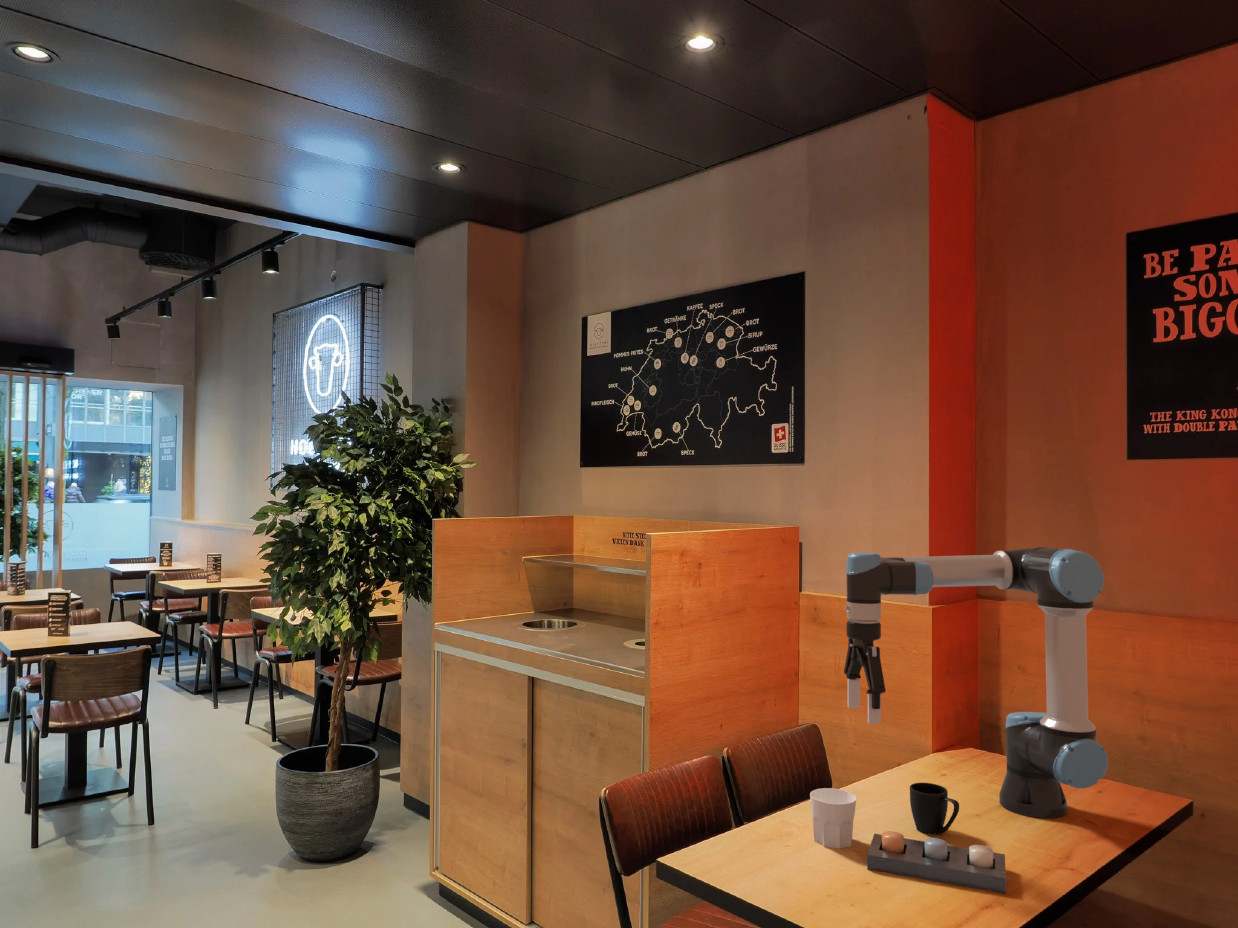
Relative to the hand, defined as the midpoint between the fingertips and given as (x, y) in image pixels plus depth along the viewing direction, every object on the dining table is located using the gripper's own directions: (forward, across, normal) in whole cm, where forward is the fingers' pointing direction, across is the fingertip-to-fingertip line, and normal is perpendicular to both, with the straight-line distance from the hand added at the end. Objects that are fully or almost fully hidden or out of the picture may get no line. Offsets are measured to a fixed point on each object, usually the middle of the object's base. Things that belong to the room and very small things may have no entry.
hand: (863, 715), depth 190 cm
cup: (+28, +1, -7) cm, 29 cm away
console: (+27, +16, +10) cm, 33 cm away
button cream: (+25, +20, +17) cm, 37 cm away
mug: (+27, -2, +18) cm, 33 cm away
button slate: (+25, +16, +9) cm, 32 cm away
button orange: (+25, +13, +2) cm, 28 cm away
